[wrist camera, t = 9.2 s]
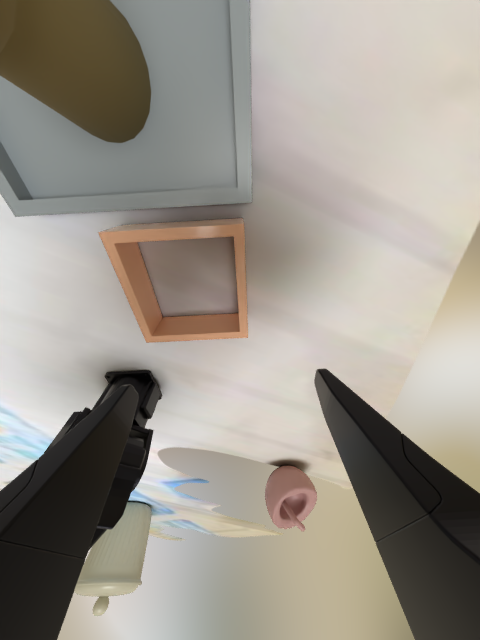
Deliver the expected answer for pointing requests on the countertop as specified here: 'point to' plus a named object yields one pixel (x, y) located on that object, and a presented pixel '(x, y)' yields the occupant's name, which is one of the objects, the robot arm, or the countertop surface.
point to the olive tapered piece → (77, 63)
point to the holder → (141, 292)
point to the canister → (116, 558)
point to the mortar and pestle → (289, 497)
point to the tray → (159, 130)
